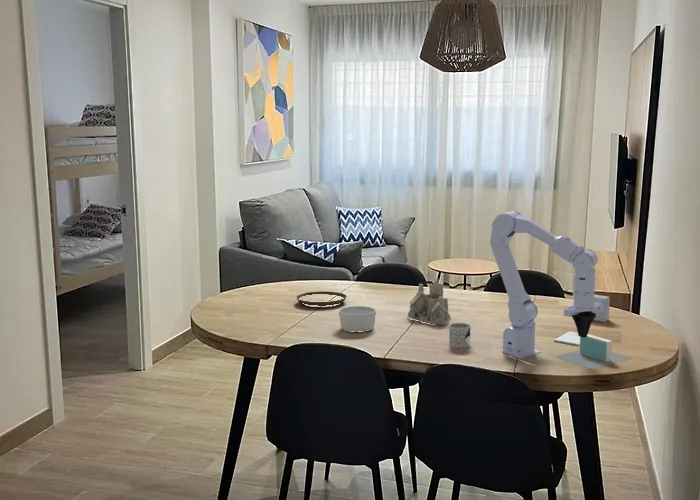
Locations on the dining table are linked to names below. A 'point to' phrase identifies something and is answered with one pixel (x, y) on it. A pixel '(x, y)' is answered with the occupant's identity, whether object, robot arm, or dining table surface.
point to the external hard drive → (569, 339)
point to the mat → (590, 359)
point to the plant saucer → (322, 302)
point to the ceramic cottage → (430, 305)
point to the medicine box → (603, 314)
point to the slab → (596, 347)
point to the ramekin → (357, 318)
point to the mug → (459, 335)
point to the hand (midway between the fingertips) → (582, 336)
